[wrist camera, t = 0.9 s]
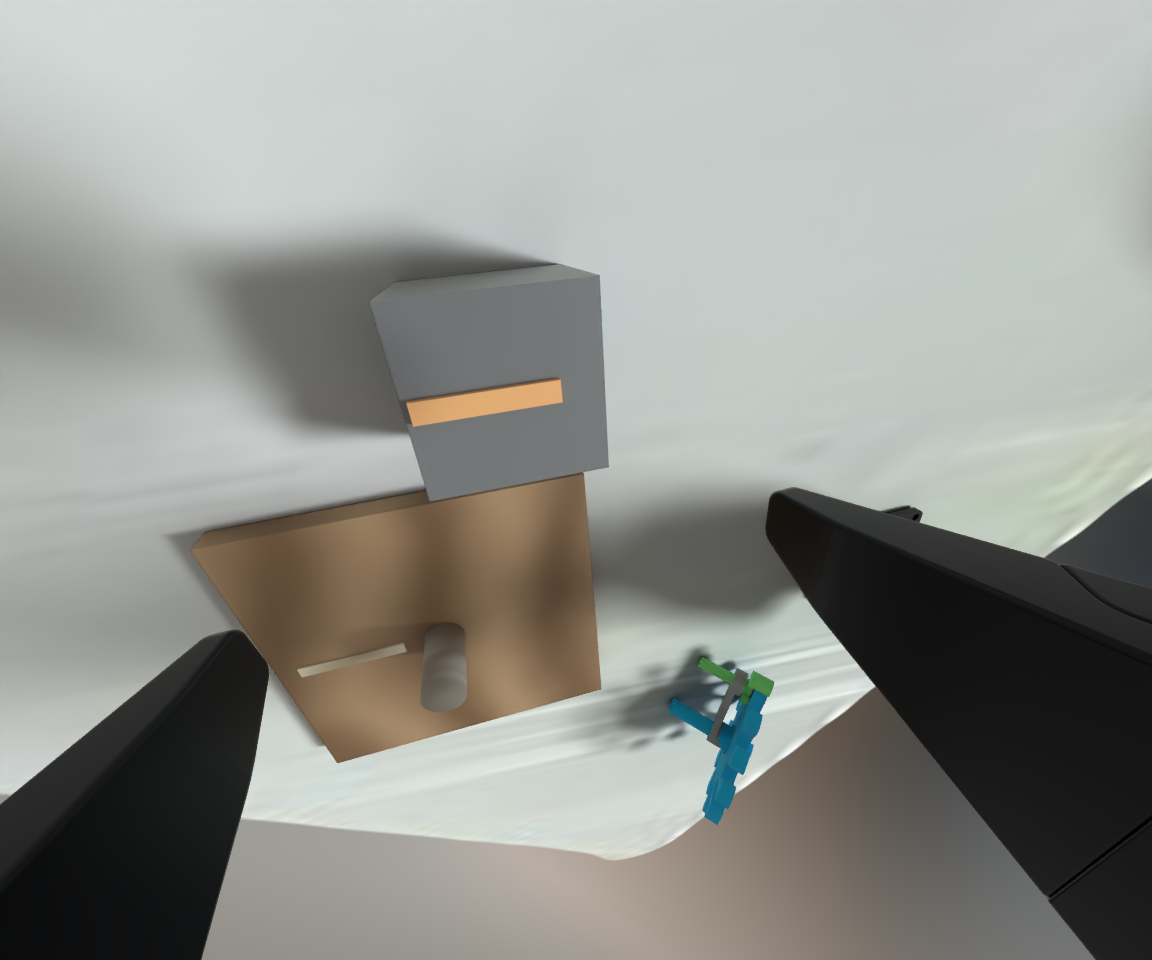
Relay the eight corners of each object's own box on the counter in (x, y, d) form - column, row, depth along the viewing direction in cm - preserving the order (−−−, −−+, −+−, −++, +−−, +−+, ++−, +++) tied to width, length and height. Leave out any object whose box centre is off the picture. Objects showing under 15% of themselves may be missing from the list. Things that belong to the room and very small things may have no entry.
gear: (735, 754, 36) (712, 867, 27) (668, 714, 38) (627, 806, 29) (787, 645, 33) (780, 734, 24) (710, 609, 35) (679, 677, 26)
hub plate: (577, 462, 21) (606, 516, 17) (596, 673, 29) (618, 743, 25) (204, 532, 18) (133, 616, 14) (342, 742, 26) (321, 833, 22)
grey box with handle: (559, 263, 16) (601, 275, 12) (572, 413, 19) (610, 469, 15) (393, 281, 15) (368, 302, 11) (435, 436, 18) (429, 504, 14)
